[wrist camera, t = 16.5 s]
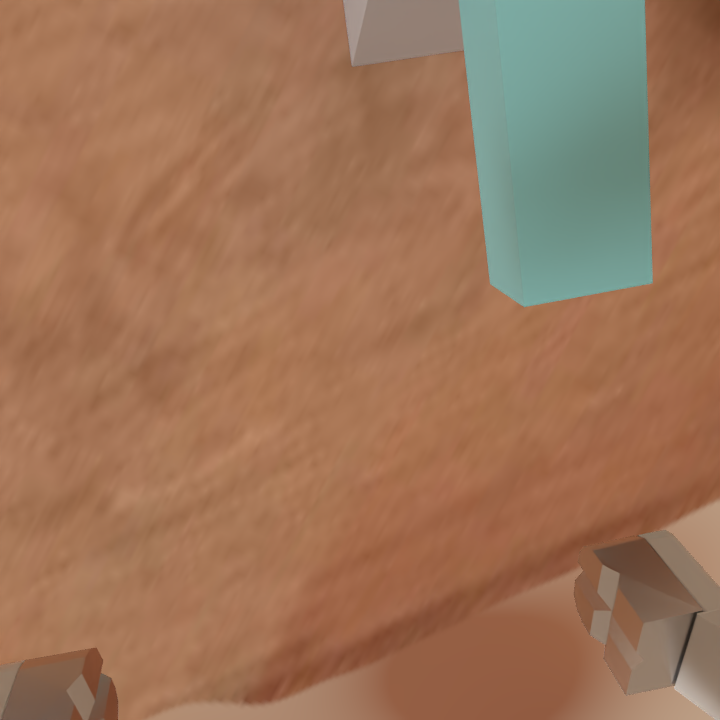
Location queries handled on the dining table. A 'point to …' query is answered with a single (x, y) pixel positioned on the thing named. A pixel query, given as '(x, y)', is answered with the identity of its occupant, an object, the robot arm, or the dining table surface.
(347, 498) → the dining table surface
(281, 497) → the dining table surface
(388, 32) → the grey boxy piece
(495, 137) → the teal square bar
